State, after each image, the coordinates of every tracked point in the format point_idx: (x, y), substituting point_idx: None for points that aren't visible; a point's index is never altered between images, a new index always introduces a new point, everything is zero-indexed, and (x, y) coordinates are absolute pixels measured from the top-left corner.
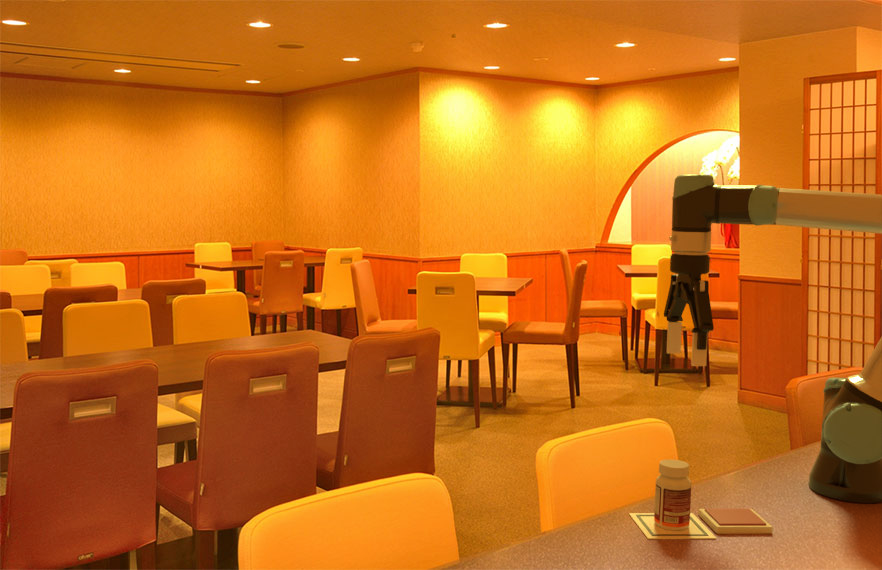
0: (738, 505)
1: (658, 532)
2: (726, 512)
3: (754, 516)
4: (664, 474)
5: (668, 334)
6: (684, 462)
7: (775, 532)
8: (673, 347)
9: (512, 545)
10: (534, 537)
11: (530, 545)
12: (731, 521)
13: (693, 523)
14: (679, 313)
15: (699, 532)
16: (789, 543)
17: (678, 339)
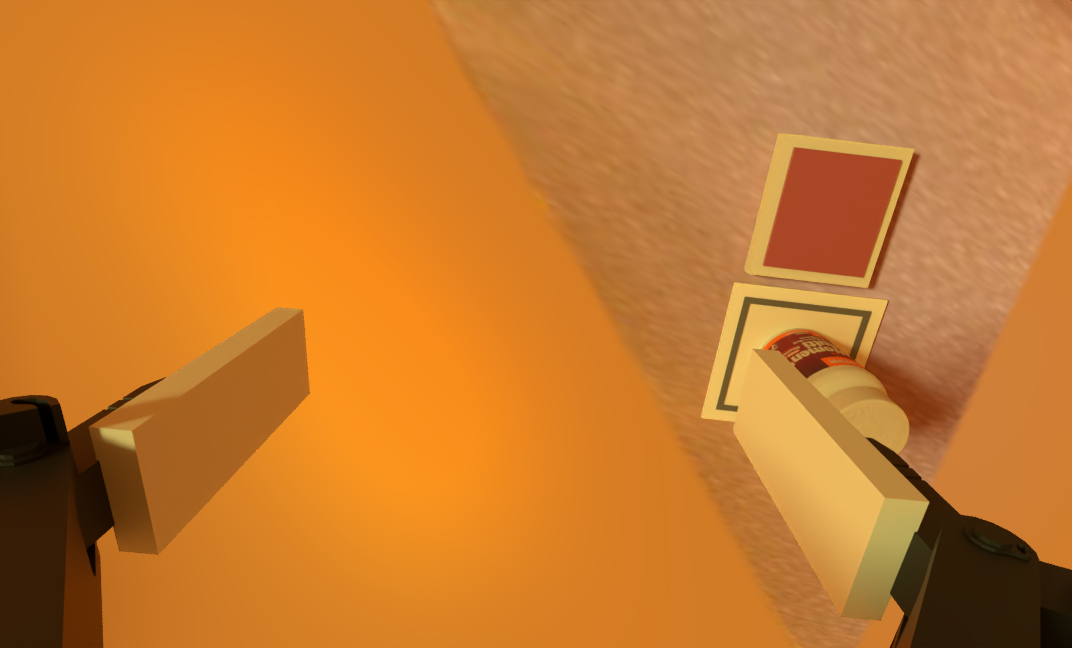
0: (703, 129)
1: None
2: (801, 223)
3: (849, 164)
4: None
5: (231, 472)
6: (867, 405)
7: (899, 134)
8: (286, 377)
9: (790, 638)
10: (767, 602)
11: (799, 616)
12: (859, 242)
13: (796, 310)
14: (78, 555)
15: (847, 321)
16: (970, 139)
17: (250, 371)
